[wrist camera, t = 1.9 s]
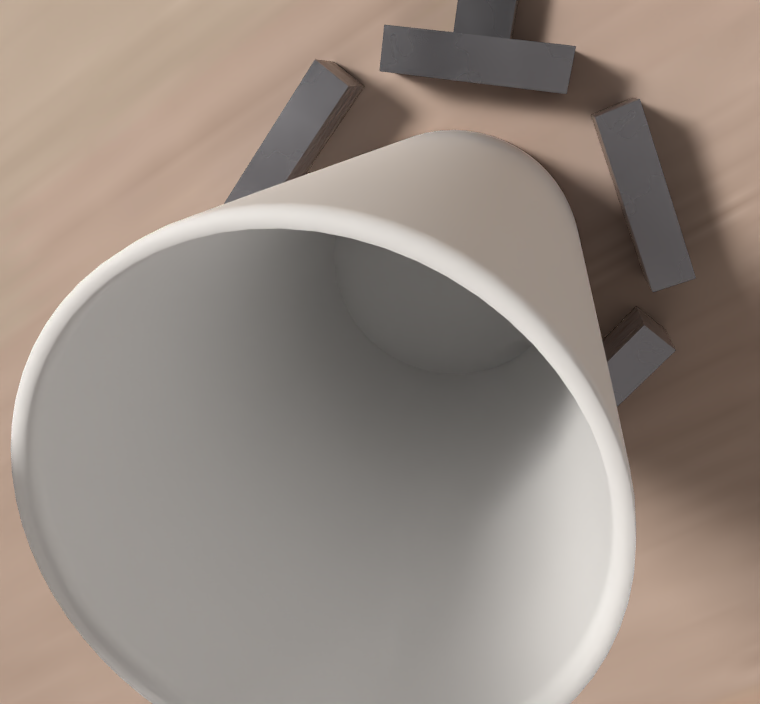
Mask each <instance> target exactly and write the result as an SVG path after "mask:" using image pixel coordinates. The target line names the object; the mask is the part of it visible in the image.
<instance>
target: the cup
mask: <svg viewBox="0 0 760 704" xmlns="http://www.w3.org/2000/svg"><path fill="white" fill-rule="evenodd" d="M11 462H12V477H13V483H14V490H15V496H16V502H17V506H18V510H19V514H20V518H21V522H22V525H23V528H24V531H25V534H26V537H27V540H28V543H29V546H30V549H31V551H32V553H33V556H34V558H35V560H36V562H37V565H38V567H39V569H40V571H41V573H42V575H43V577H44V579H45V581H46V583H47V585H48V586H49V588H50V590H51V592H52V594H53V596H54V597H55V599H56V600H57V602H58V603H59V605H60V606H61V608H62V610H63V611H64V613H65V614H66V616H67V617H68V619H69V620H70V621H71V623H72V624H73V625H74V627H75V628H76V629H77V630H78V632H79V633H80V634H81V636H82V637H83V638H84V640H85V641H86V642H87V643H88V644H89V645H90V646H91V648H92V649H93V650H94V651H95V652H96V653H97V654H98V655H99V657H100V658H101V659H102V660H103V661H104V662H105V663H106V664H107V665H108V666H109V667H110V668H111V669H112V670H113V671H114V672H115V673H116V674H117V675H118V676H119V677H121V678H122V679H123V680H124V681H125V682H126V683H128V684H129V685H130V686H131V687H132V688H133V689H135V690H136V691H137V692H138V693H139V694H140V695H142V696H143V697H144V698H146V699H147V700H148V701H150V702H151V703H152V704H570V703H571V702H572V701H573V700H574V699H575V698H576V697H577V696H578V695H579V694H580V693H581V691H582V690H583V689H584V688H585V686H586V685H587V684H588V683H589V681H590V680H591V679H592V678H593V677H594V675H595V673H596V672H597V670H598V669H599V667H600V665H601V664H602V662H603V661H604V659H605V658H606V656H607V654H608V652H609V650H610V648H611V646H612V644H613V642H614V640H615V638H616V635H617V633H618V631H619V629H620V626H621V623H622V620H623V617H624V614H625V611H626V608H627V605H628V601H629V596H630V591H631V586H632V581H633V576H634V564H635V550H636V516H635V496H634V490H633V484H632V478H631V472H630V466H629V461H628V457H627V452H626V447H625V443H624V438H623V433H622V429H621V424H620V420H619V415H618V410H617V406H616V401H615V396H614V392H613V387H612V382H611V378H610V373H609V369H608V364H607V360H606V355H605V351H604V346H603V342H602V337H601V333H600V328H599V324H598V319H597V315H596V310H595V306H594V301H593V297H592V292H591V288H590V283H589V279H588V274H587V270H586V265H585V261H584V256H583V252H582V247H581V243H580V238H579V234H578V229H577V225H576V222H575V218H574V215H573V213H572V210H571V208H570V205H569V203H568V201H567V199H566V197H565V195H564V193H563V192H562V190H561V189H560V187H559V186H558V184H557V183H556V181H555V180H554V179H553V177H552V176H551V175H550V174H549V173H548V171H547V170H546V169H545V168H544V167H543V166H542V165H540V164H539V163H538V162H537V161H536V160H535V159H534V158H532V157H531V156H530V155H529V154H527V153H526V152H524V151H523V150H521V149H519V148H518V147H516V146H514V145H512V144H510V143H508V142H506V141H504V140H502V139H499V138H496V137H494V136H490V135H487V134H483V133H479V132H473V131H466V130H440V131H434V132H427V133H424V134H420V135H416V136H413V137H410V138H407V139H404V140H402V141H399V142H396V143H393V144H390V145H388V146H385V147H382V148H379V149H376V150H374V151H371V152H368V153H365V154H362V155H360V156H357V157H354V158H351V159H348V160H346V161H343V162H340V163H337V164H334V165H331V166H329V167H326V168H323V169H320V170H317V171H315V172H312V173H309V174H306V175H303V176H301V177H298V178H295V179H292V180H289V181H287V182H284V183H281V184H278V185H275V186H273V187H270V188H267V189H264V190H261V191H259V192H256V193H253V194H250V195H248V196H245V197H242V198H239V199H237V200H234V201H231V202H228V203H226V204H223V205H220V206H217V207H215V208H212V209H209V210H207V211H204V212H201V213H198V214H196V215H193V216H190V217H187V218H185V219H182V220H179V221H177V222H174V223H171V224H169V225H166V226H164V227H162V228H160V229H158V230H156V231H154V232H152V233H150V234H148V235H146V236H144V237H142V238H140V239H139V240H137V241H136V242H134V243H133V244H131V245H129V246H128V247H126V248H125V249H123V250H122V251H120V252H119V253H117V254H116V255H114V256H113V257H111V258H110V259H108V260H107V261H105V262H104V263H102V264H101V265H100V266H98V267H97V268H96V269H95V270H94V271H93V272H91V273H90V274H89V275H88V276H87V277H86V278H84V279H83V280H82V281H81V282H80V283H79V284H78V285H77V286H76V287H75V288H74V289H73V290H72V291H71V292H70V294H69V295H68V296H67V297H66V298H65V299H64V300H63V301H62V302H61V304H60V305H59V306H58V308H57V309H56V311H55V312H54V313H53V315H52V316H51V318H50V319H49V320H48V322H47V323H46V325H45V326H44V328H43V330H42V332H41V334H40V335H39V337H38V339H37V341H36V343H35V345H34V346H33V348H32V351H31V353H30V356H29V358H28V361H27V363H26V366H25V368H24V371H23V374H22V377H21V381H20V385H19V388H18V392H17V396H16V400H15V407H14V413H13V420H12V433H11Z"/></svg>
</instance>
